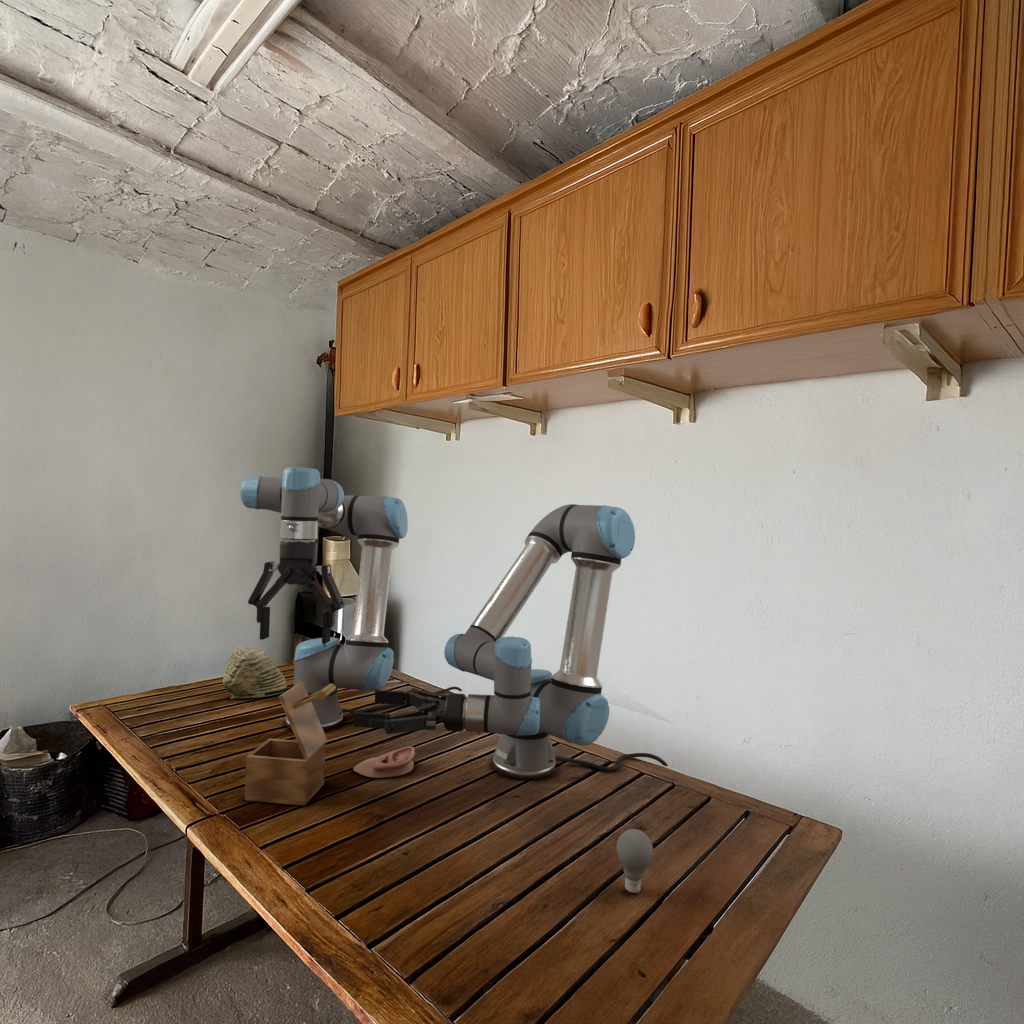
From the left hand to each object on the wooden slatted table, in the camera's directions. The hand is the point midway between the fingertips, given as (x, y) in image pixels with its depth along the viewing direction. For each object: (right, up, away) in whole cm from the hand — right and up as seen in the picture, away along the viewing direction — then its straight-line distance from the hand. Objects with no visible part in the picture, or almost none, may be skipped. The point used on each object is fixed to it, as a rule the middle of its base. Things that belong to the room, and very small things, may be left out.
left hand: (295, 640), depth 134 cm
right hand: (+15, -14, -2) cm, 21 cm away
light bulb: (+66, -36, -29) cm, 81 cm away
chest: (-2, -33, +1) cm, 33 cm away
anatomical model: (+16, -33, +14) cm, 39 cm away
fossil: (-34, -30, +64) cm, 78 cm away
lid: (+1, -17, 0) cm, 17 cm away
